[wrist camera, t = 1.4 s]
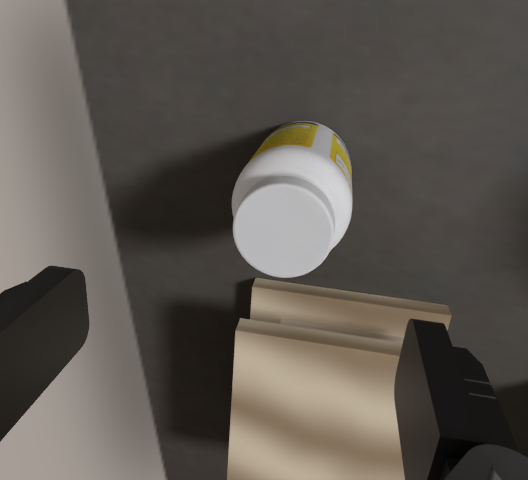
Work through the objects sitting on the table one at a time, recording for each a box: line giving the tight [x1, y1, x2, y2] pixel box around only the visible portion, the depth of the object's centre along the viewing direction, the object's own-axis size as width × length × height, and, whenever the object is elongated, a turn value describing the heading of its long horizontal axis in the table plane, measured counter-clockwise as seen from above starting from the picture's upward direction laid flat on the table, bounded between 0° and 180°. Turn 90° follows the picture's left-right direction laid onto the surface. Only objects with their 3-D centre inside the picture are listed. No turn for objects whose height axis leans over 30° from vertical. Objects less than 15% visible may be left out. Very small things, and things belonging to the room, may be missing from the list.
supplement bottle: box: [232, 121, 352, 278], centre depth 23 cm, size 5×5×10 cm
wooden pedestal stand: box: [227, 278, 451, 480], centre depth 29 cm, size 12×12×6 cm
